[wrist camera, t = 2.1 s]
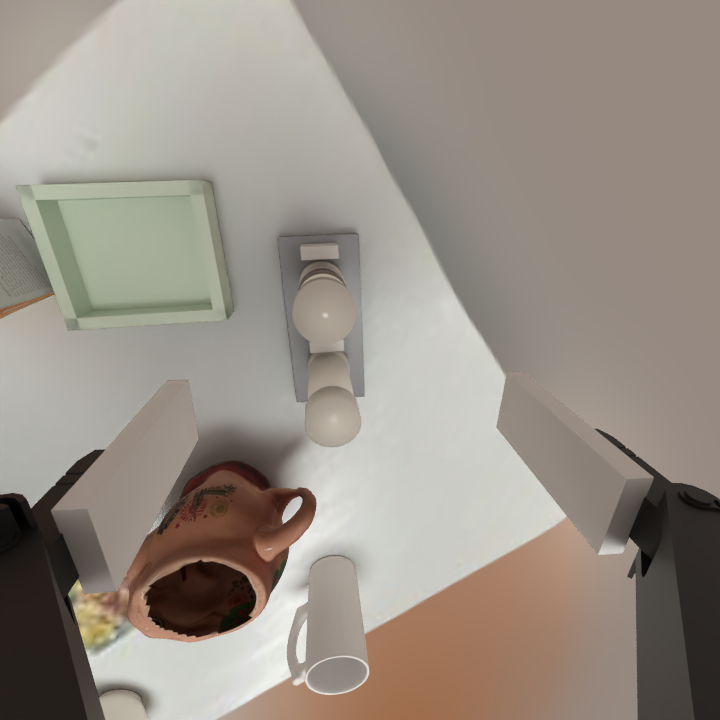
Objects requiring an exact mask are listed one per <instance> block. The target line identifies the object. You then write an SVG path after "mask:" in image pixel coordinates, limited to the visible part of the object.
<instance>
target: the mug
mask: <svg viewBox="0 0 720 720" xmlns="http://www.w3.org/2000/svg"><path fill="white" fill-rule="evenodd" d="M306 619H307V641H306V661H305V662H304V663H301V664H300V663H299V662H298V660H297V656H296V644H297V638H298V635H299V631H300V629H301V627H302V625H303V623H304V622H305V620H306ZM287 661H288V666H289V669H290V672H291V675H292V683H293V684H294V685H295V686H297V685H299V684H300V683H302V682H304V680H305V682H306V685H307V686H308V687H309V688H310V689H311V690H312V691H315V692H317V693H320V694H327V695H333V694H341V693H346V692H349V691H351V690H354V689H356V688H357V687H359V686H360V685H361V684H362V683H364V682H365V680H366V679H367V677H368V675H369V667H368V657H367V649H366V642H365V634H364V627H363V620H362V613H361V605H360V598H359V590H358V583H357V576H356V570H355V566H354V564H353V563H352V562H351V561H350V560H349V559H347V558H345V557H341V556H329V557H325V558H322V559H320V560H319V561H317V562H316V563H315V564H314V565H313V566H312V568H311V570H310V574H309V591H308V602H307V603H306V604H304V605H303V606H300V607H299V608H297V611H296V614H295V617H294V621H293V624H292V627H291V631H290V635H289V639H288V645H287Z"/></svg>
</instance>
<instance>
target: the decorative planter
mask: <svg viewBox="0 0 720 720" xmlns="http://www.w3.org/2000/svg"><path fill="white" fill-rule="evenodd" d="M298 496H300V497H302V499H303V502H302V505H301V507H300V509H299V510H298V511H297V512H296V514H295V515H294V516H293V517H292V518H291V519H290V520H289V521H287V522H286V523H284V524H283V522H282V515H283V512H284V510H285V508H286V506H287V505H288V503H289V502H290V501H291V500H292V499H293V498H295V497H298ZM315 511H316V498H315V496H314V495H313V494H312V492H311V491H310V490H308V489H307V488H298V489H290V488H271V486H270V484H269V481H268V480H267V479H266V477H264V476H263V475H262V474H261V473H260V472H259V471H257V470H256V469H255V468H253V467H251V466H249V465H247V464H245V463H241V462H235V461H230V462H223V463H219V464H216V465H214V466H211V467H209V468H207V469H205V470H203V471H202V472H200V473H199V474H198V475H196V476H195V477H194V478H192V479H190V480H189V481H188V482H187V484H186V486H185V488H184V490H183V493H182V495H181V497H180V499H179V501H178V502H177V503H176V504H175V505H174V506H173V507H172V508H171V509H170V510H169V512H168V513H167V514H166V516H165V517H164V519H163V521H162V522H161V524H160V526H159V527H157V528H156V529H155V530H154V531H152V532H151V533H150V534H148V535H147V536H146V538H145V540H144V542H143V544H142V546H141V547H140V549H139V551H138V553H137V555H136V557H135V559H134V560H133V562H132V564H131V566H130V568H129V570H128V572H127V575H128V581H129V602H128V608H127V617H128V620H129V622H130V623H131V624H132V625H133V626H134V627H136V628H137V629H138V630H140V631H141V632H142V633H143V634H144V635H145V636H147V637H149V638H159V639H171V640H177V641H183V642H197V641H202V640H205V639H209V638H212V637H216V636H219V635H223V634H226V633H230V632H233V631H235V630H238V629H240V628H242V627H244V626H245V625H247V624H249V623H250V622H251V621H253V620H254V619H255V618H256V617H257V616H258V615H259V614H260V613H261V612H262V611H263V609H264V608H265V606H266V604H267V602H268V600H269V597H270V594H271V592H272V591H273V589H274V588H275V586H276V585H277V583H278V581H279V579H280V578H281V576H282V573H283V571H284V568H285V565H286V562H287V559H288V553H289V546H291V545H292V544H293V543H294V542H296V541H297V540H298V539H299V538H300V537H301V536H302V535H303V533H304V532H305V531H306V530H307V529H308V528H309V526H310V525H311V523H312V520H313V518H314V515H315Z"/></svg>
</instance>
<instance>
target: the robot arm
mask: <svg viewBox="0 0 720 720" xmlns="http://www.w3.org/2000/svg"><path fill="white" fill-rule="evenodd" d="M497 428H498V430H499V431H500V432H501V433H502V435H503V436H504V437H505V439H506V440H507V441H508V442H509V444H510V445H511V446H512V447H513V449H514V450H515V451H516V452H517V454H518V455H519V456H520V457H521V459H522V460H523V461H524V462H525V464H526V465H527V466H528V467H529V469H530V470H531V471H532V473H533V474H534V475H535V476H536V478H537V479H538V480H539V481H540V483H541V484H542V485H543V486H544V488H545V489H546V490H547V491H548V493H549V494H550V495H551V496H552V498H553V499H554V500H555V501H556V503H557V504H558V505H559V506H560V508H561V509H562V510H563V512H564V513H565V514H566V515H567V517H568V518H569V519H570V520H571V521H572V523H573V524H574V525H575V527H576V528H577V529H578V530H579V531H580V533H581V534H582V535H583V537H584V538H585V539H586V540H587V542H588V543H589V544H590V545H591V547H592V548H593V549H594V550H595V552H596V553H597V554H598V555H603V554H617V553H623V551H624V548H625V546H626V543H627V541H628V539H629V537H630V538H631V539H632V540H633V541H634V543H636V545H637V546H638V547H639V550H638V552H637V555H636V557H635V560H634V562H633V564H632V566H631V568H630V571H629V573H628V577H629V578H632V577H633V575H634V574H635V573H636V629H637V692H638V693H637V698H638V720H720V500H719V499H718V498H717V497H715V496H714V495H712V494H710V493H708V492H707V491H705V490H702V489H699V488H697V487H694V486H691V485H687V484H683V483H671V482H670V481H669V480H667V479H666V478H665V477H663V476H662V475H661V474H660V473H658V472H657V471H656V470H655V469H653V468H652V467H651V466H650V465H648V464H647V463H646V462H644V461H643V460H642V459H641V458H639V457H636V455H635V454H634V453H633V452H632V451H631V450H629V449H628V448H627V449H626V448H625V446H624V445H623V444H622V443H620V442H619V441H617V439H615V438H614V437H612V436H610V435H608V434H607V433H605V432H603V431H601V430H598V429H594V428H592V427H591V426H590V425H589V424H588V423H586V422H585V421H584V420H583V419H581V418H580V417H579V416H578V415H576V414H575V413H574V412H573V411H571V410H570V409H569V408H568V407H566V406H565V405H564V404H563V403H562V402H560V401H559V400H558V399H557V398H556V397H554V396H553V395H552V394H551V393H549V392H548V391H547V390H545V389H544V388H543V387H542V386H541V385H539V384H538V383H537V382H536V381H535V380H533V379H532V378H531V377H529V376H528V375H527V374H526V373H525V372H507V375H506V380H505V386H504V391H503V396H502V401H501V406H500V411H499V417H498V422H497ZM198 439H199V436H198V431H197V425H196V420H195V415H194V409H193V404H192V398H191V393H190V387H189V382H188V380H168V381H167V382H166V383H165V384H164V385H163V386H162V387H161V389H160V390H159V391H158V392H157V393H156V394H155V395H154V396H153V397H152V399H151V400H150V401H149V402H148V403H147V404H146V405H145V406H144V407H143V409H142V410H141V411H140V412H139V413H138V414H137V415H136V416H135V417H134V419H133V420H132V421H131V422H130V423H129V424H128V425H127V426H126V427H125V429H124V430H123V431H122V432H121V433H120V434H119V435H118V436H117V437H116V439H115V440H114V441H113V442H112V443H111V444H110V445H109V446H108V447H107V449H106V450H94V451H93V452H91V453H89V454H88V455H86V456H85V457H83V458H81V459H80V460H78V461H77V462H76V463H75V464H74V465H73V466H72V467H71V468H70V469H69V470H68V471H67V472H66V475H65V476H62V477H61V478H60V480H59V481H58V482H57V483H56V485H55V486H53V487H52V488H51V489H50V490H49V491H48V492H47V493H46V494H45V495H44V496H43V497H42V498H41V499H40V500H39V501H38V502H37V503H36V504H35V505H34V506H33V507H32V508H30V506H29V504H28V501H27V499H26V498H25V497H24V496H23V495H21V494H15V493H10V494H2V495H0V720H105V717H104V713H103V710H102V706H101V703H100V699H99V696H98V693H97V689H96V686H95V682H94V679H93V675H92V672H91V668H90V665H89V661H88V658H87V654H86V651H85V647H84V644H83V641H82V637H81V634H80V630H79V627H78V623H77V620H76V616H75V613H74V609H73V606H72V602H71V600H70V598H69V595H68V593H69V591H70V590H71V588H72V587H73V585H74V584H75V582H76V580H77V579H79V581H80V584H81V586H82V588H83V591H84V593H85V594H89V593H102V592H116V591H117V590H118V588H119V586H120V585H121V583H122V581H123V579H124V577H125V575H126V573H127V572H128V570H129V568H130V566H131V564H132V562H133V560H134V559H135V557H136V555H137V553H138V551H139V549H140V547H141V546H142V544H143V542H144V540H145V538H146V536H147V534H148V532H149V531H150V529H151V527H152V525H153V523H154V521H155V519H156V518H157V516H158V514H159V512H160V510H161V508H162V506H163V505H164V503H165V501H166V499H167V497H168V495H169V493H170V492H171V490H172V488H173V486H174V484H175V482H176V480H177V479H178V477H179V475H180V473H181V471H182V469H183V467H184V465H185V464H186V462H187V460H188V458H189V456H190V454H191V452H192V451H193V449H194V447H195V445H196V443H197V441H198Z"/></svg>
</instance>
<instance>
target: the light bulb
mask: <svg viewBox="0 0 720 720" xmlns="http://www.w3.org/2000/svg"><path fill="white" fill-rule="evenodd" d="M356 313H357V312H356V306H355V303H354V300H353V298H352V296H351V293H350V292H349V290H348V289H347V287H346V285H345V280H344V277H343V275H342V272H341V271H340V269H339V268H338V267H337V266H336V265H335V264H333V263H332V262H330V261H326V260H316V261H313V262H311V263H309V264H308V265H307V266H306V267H305V268H304V269H303V271H302V273H301V275H300V280H299V290H298V292H297V294H296V297H295V301H294V305H293V311H292V316H293V321H294V325H295V327H296V329H297V330H298V332H299V333H300V334H301V335H302V336H303V337H304V338H306V339H307V340H309V341H311V342H313V343H316V344H323V345H327V344H333V343H336V342H339V341H340V340H342V339H344V338H345V337H346V336H347V335H348V334H349V333H350V332H351V330H352V329H353V327H354V325H355V321H356Z"/></svg>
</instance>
